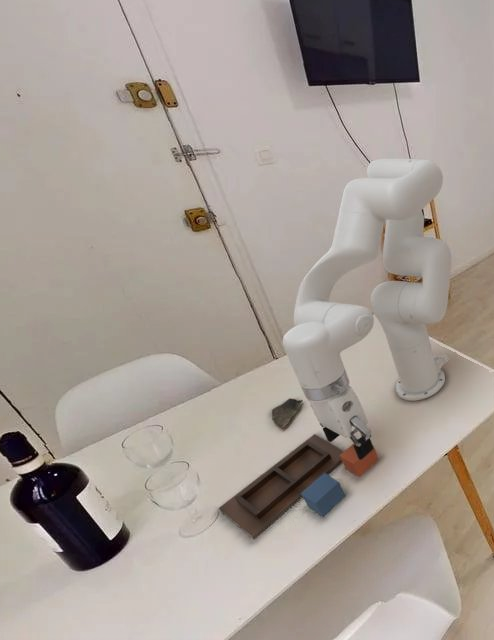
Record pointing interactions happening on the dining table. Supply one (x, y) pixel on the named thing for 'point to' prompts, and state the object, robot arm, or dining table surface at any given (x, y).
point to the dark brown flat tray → (281, 485)
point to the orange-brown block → (358, 461)
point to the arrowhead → (285, 412)
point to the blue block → (323, 494)
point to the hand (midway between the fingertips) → (350, 445)
